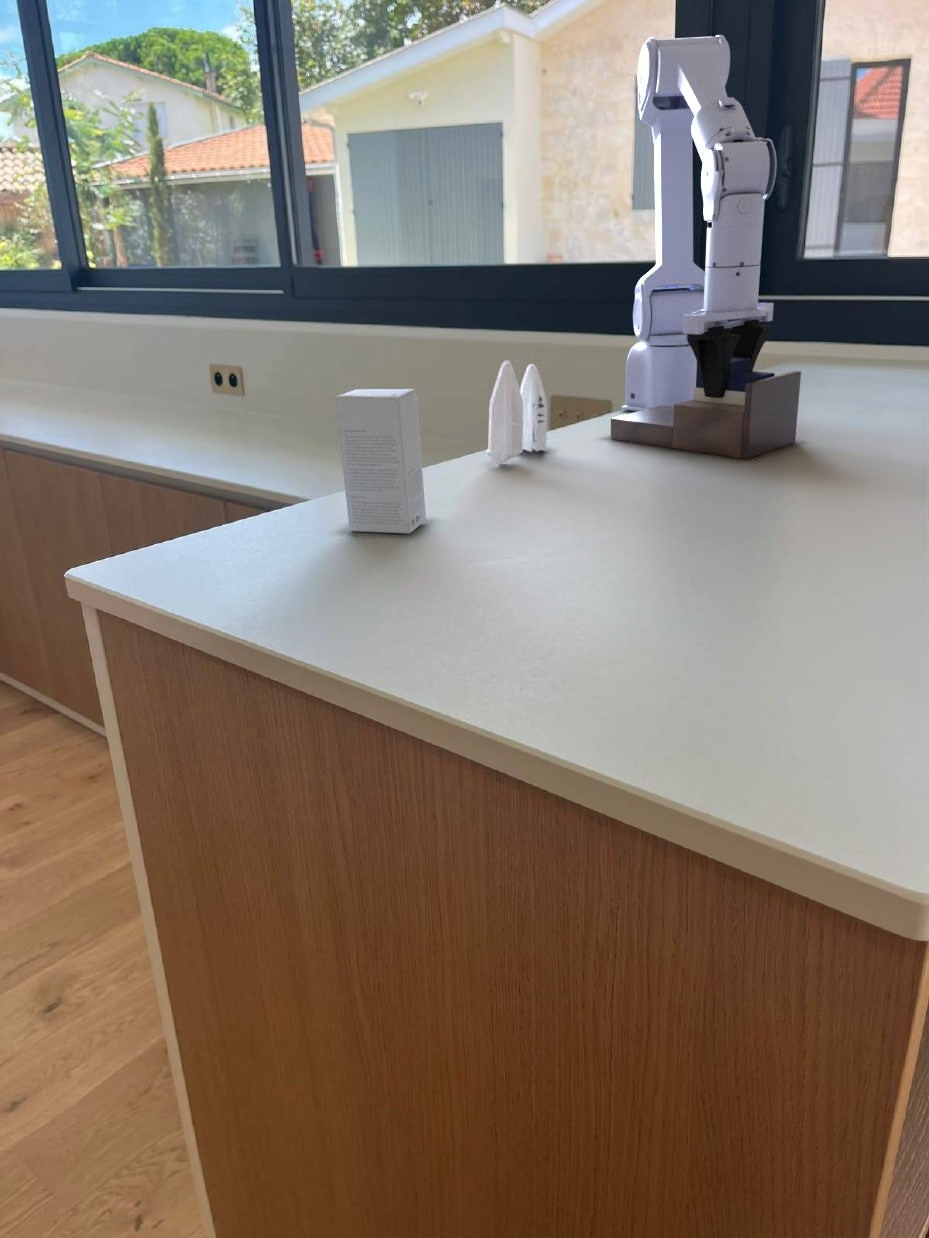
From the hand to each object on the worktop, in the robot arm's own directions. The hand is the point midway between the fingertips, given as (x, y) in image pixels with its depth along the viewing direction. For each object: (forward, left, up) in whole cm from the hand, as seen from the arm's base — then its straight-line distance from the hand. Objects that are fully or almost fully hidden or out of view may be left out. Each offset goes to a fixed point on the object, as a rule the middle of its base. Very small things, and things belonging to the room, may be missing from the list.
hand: (725, 394), depth 107 cm
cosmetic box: (-6, -45, -6) cm, 46 cm away
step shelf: (-4, 0, -6) cm, 7 cm away
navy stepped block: (+1, 0, -1) cm, 1 cm away
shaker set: (-14, -19, -6) cm, 25 cm away
